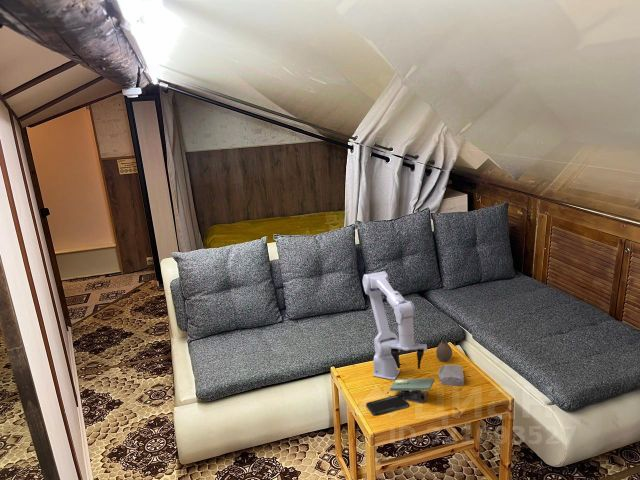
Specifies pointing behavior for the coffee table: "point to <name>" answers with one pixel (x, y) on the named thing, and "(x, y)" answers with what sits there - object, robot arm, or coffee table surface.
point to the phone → (386, 405)
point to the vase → (444, 352)
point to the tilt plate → (412, 384)
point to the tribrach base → (413, 395)
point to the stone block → (451, 375)
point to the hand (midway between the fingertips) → (408, 367)
